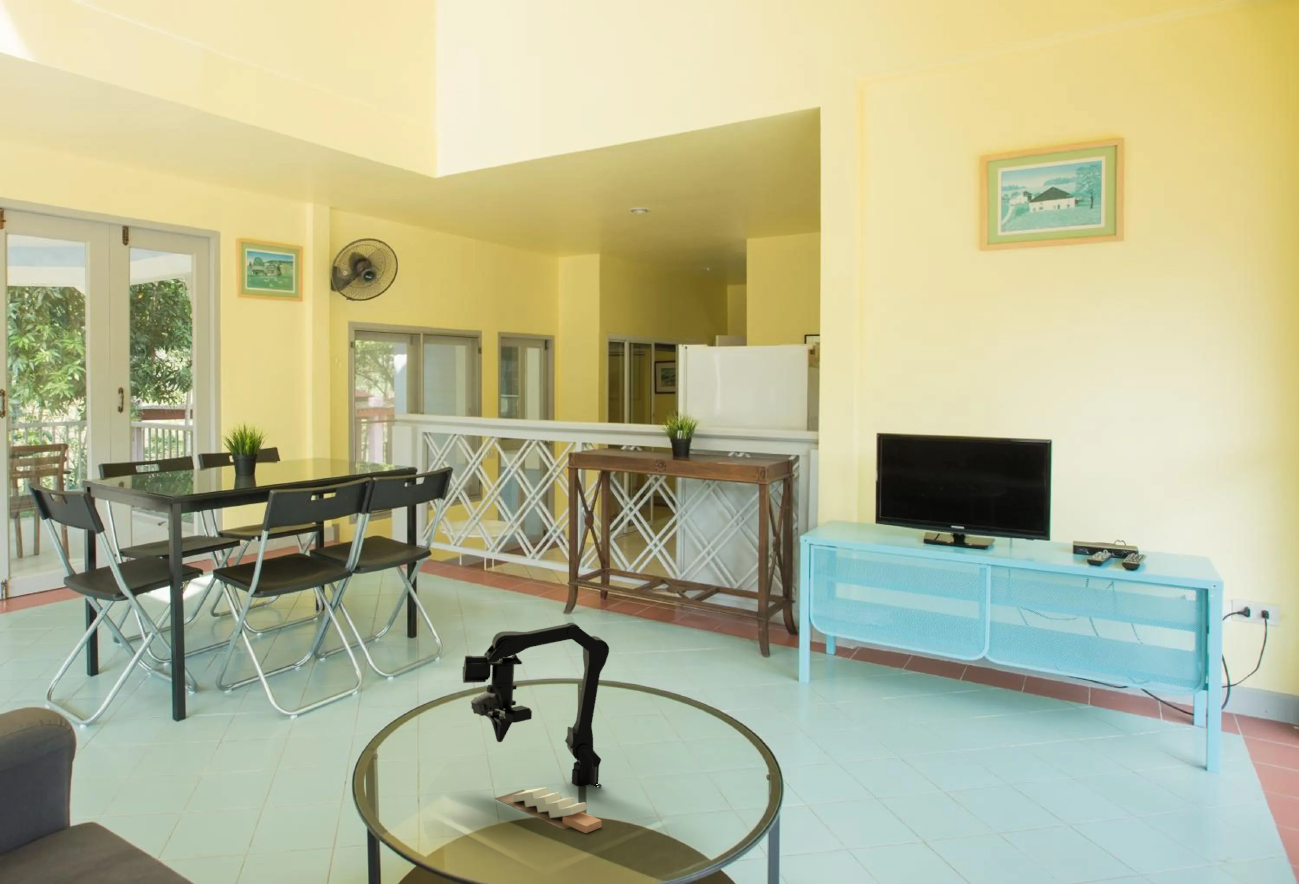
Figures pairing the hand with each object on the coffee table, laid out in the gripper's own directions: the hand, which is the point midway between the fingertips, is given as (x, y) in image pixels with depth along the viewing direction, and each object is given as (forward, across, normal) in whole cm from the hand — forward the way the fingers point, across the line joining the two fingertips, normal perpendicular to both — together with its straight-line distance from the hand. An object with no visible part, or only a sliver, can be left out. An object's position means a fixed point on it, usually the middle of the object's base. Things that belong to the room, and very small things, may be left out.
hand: (499, 741), depth 212 cm
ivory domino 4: (+11, +23, 0) cm, 26 cm away
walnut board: (+13, +18, 0) cm, 22 cm away
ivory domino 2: (+11, +14, 0) cm, 18 cm away
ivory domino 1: (+11, +10, 0) cm, 15 cm away
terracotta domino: (+11, +28, 0) cm, 30 cm away
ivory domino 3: (+11, +19, 0) cm, 22 cm away
